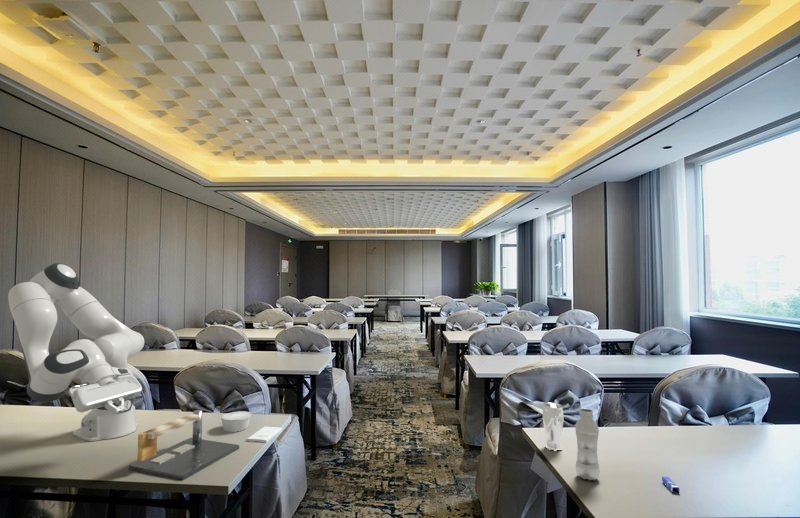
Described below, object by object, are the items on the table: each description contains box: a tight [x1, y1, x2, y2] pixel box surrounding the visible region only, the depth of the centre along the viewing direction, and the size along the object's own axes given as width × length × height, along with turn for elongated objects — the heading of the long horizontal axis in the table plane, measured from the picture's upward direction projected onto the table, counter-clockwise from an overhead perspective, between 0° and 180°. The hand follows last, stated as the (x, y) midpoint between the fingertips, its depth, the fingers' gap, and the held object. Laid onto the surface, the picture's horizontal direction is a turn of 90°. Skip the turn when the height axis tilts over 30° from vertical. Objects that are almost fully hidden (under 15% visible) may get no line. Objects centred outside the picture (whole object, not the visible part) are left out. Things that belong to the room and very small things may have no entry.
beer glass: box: [542, 402, 564, 451], centre depth 143 cm, size 7×7×15 cm
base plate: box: [128, 409, 240, 481], centre depth 135 cm, size 22×24×12 cm
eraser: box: [661, 476, 680, 493], centre depth 115 cm, size 2×6×2 cm, turn 170°
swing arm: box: [136, 413, 200, 462], centre depth 134 cm, size 20×4×8 cm, turn 162°
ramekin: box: [221, 410, 252, 433], centre depth 163 cm, size 11×11×5 cm
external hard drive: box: [245, 426, 283, 444], centre depth 155 cm, size 2×8×12 cm
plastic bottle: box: [574, 408, 601, 481], centre depth 121 cm, size 6×7×20 cm
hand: (120, 412), depth 132 cm, fingers closed
